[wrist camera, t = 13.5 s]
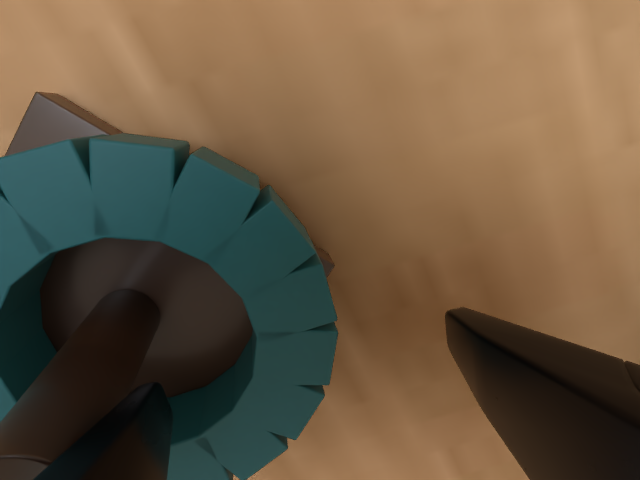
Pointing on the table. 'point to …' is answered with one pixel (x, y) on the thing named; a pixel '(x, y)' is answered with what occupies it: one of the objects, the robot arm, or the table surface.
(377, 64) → the table surface
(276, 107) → the table surface
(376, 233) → the table surface
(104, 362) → the stand
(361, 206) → the table surface
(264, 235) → the hoop
